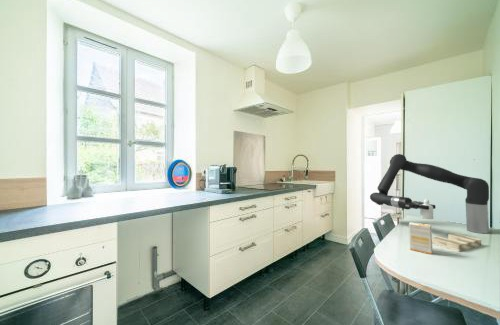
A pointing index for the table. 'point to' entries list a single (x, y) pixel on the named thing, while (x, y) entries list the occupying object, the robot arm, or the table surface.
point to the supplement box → (420, 237)
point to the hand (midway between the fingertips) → (431, 207)
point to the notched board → (457, 242)
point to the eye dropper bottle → (427, 211)
